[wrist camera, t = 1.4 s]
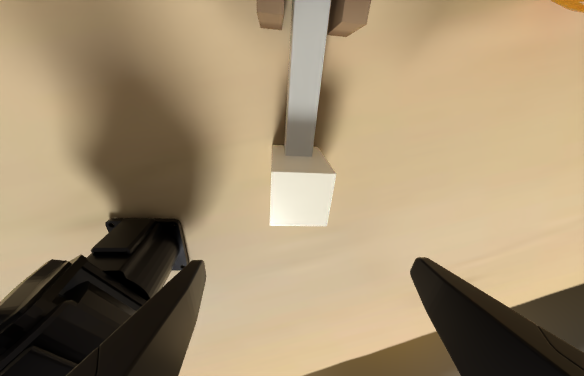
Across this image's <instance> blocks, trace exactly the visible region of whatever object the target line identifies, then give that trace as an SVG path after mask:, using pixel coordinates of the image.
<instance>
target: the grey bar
mask: <svg viewBox="0 0 584 376" xmlns="http://www.w3.org/2000/svg"><path fill="white" fill-rule="evenodd" d="M330 2H331V0H292V18H291V36H290V54H289V72H288V90H287V108H286V125H285V143H284V145H272V168H271V203H270V226H327V223H328V217H329V212H330V206H331V201H332V195H333V190H334V184H335V179H336V173H335V171H334V170H333V168H332V167H331V165H330V164H329V162H328V161H327V159H326V158H325V156H324V155H323V154H322V152H321V151H320V149H319V148H318V147H313V144H314V136H315V128H316V119H317V111H318V103H319V94H320V86H321V78H322V69H323V61H324V52H325V44H326V36H327V27H328V19H329V11H330Z"/></svg>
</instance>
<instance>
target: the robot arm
mask: <svg viewBox="0 0 584 376" xmlns="http://www.w3.org/2000/svg"><path fill="white" fill-rule="evenodd" d="M113 224H114V225H113ZM173 224H175V225H176V226H175V225H173ZM106 227H107V230H108V232H109V233H108V234H107V235H106V236H105V237H104V238H103V239H102V240H101V241H100V242H98V243H97V244H96V245H95V246H94V247H93V248H92V249H91V252H92V253H91V254H90V255H89V256H88V257H87V258H86V257H84V256H83V255H80V256H78V257H76V258H74V259H73V260H71V261H66V260H65V261H61V260H53V259H52V260H50V261H48V262H47V263H45V264H44V265H43V266H41V267H40V268H39V269H38V270H36V271H35V272H34V273H32V274H31V275H30V276H29V277H27V278H26V279H25V280H24V281H23V282H21V283H20V284H19V285H18V286H17V287H16V288H14V289H13V290H12V291H11V292H10V293H9V294H8V295H7V296H6V297H5V298H4V299H3V300H2V301H1V302H0V376H178V375H179V372H180V369H181V366H182V363H183V360H184V357H185V354H186V351H187V348H188V345H189V342H190V339H191V336H192V333H193V330H194V327H195V324H196V321H197V317H198V313H199V308H200V304H201V299H202V295H203V290H204V286H205V282H206V271H205V265H204V261H203V260H192V261H191V262H190V263H189V262H188V257H187V253H186V248H185V243H184V238H183V234H182V229H181V224H180V222H179V221H178V220H176V219H146V218H125V219H119V218H112V219H109V220H108V221H107V222H106ZM183 265H184V266H183ZM171 270H181V271H180V272H179V273H178V274H177V275H175V276H174V277H173V278H172V279H171V280H170V281H169V282H168V283H167V284H166V285H165V286H164V287H163V285H164V283H165V281H166V280H167V278H168V276H169V274H170V272H171ZM410 274H411V278H412V280H413V282H414V285H415V287H416V289H417V291H418V294H419V296H420V298H421V301H422V303H423V305H424V307H425V310H426V312H427V314H428V316H429V318H430V319H431V321H432V323H433V325H434V327H435V329H436V331H437V332H438V334H439V336H440V338H441V340H442V342H443V343H444V345H445V347H446V349H447V351H448V353H449V354H450V356H451V358H452V360H453V362H454V364H455V365H456V367H457V369H458V371H459V373H460V375H461V376H584V352H582V351H580V350H578V349H576V348H575V347H573V346H572V345H570V344H568V343H566V342H565V341H563V340H561V339H560V338H558V337H556V336H555V335H553V334H551V333H550V332H548V331H547V330H545V329H543V328H542V327H540V326H537V325H536V324H535V323H534V322H532V321H530V320H529V319H527V318H525V317H524V316H522V315H520V314H519V313H517V312H515V311H514V310H512V309H511V308H509V307H507V306H506V305H504V304H502V303H501V302H499V301H497V300H496V299H494V298H493V297H491V296H489V295H488V294H486V293H484V292H483V291H481V290H479V289H478V288H476V287H474V286H473V285H471V284H470V283H468V282H466V281H465V280H463V279H461V278H460V277H458V276H456V275H455V274H453V273H451V272H450V271H448V270H447V269H445V268H443V267H442V266H440V265H438V264H437V263H435V262H433V261H432V260H430V259H429V258H425V257H419V258H416V259H415V261H414V264H413V266H412V268H411V271H410Z"/></svg>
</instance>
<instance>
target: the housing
mask: <svg viewBox="0 0 584 376" xmlns="http://www.w3.org/2000/svg"><path fill="white" fill-rule="evenodd" d="M370 3H371V0H331V6H330V14H329V23H328V31H327V35H333V36H343V37H347V36H349V35H350V34H352V33H353V32H355V31H357V30H358V29H360V28H362V27H363V26H365V25H366V24H367V19H368V14H369V9H370ZM257 15H258V19H259V23H260V27H261V28H267V29H277V30H281V29H282V22H283V15H284V0H257Z"/></svg>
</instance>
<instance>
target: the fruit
mask: <svg viewBox="0 0 584 376" xmlns="http://www.w3.org/2000/svg"><path fill="white" fill-rule="evenodd" d="M551 1H553V2H555V3H557V4H559V5H561V6H563V7H564V8H567V9H569V10H572V11H577V12H582V13H584V0H551Z"/></svg>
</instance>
